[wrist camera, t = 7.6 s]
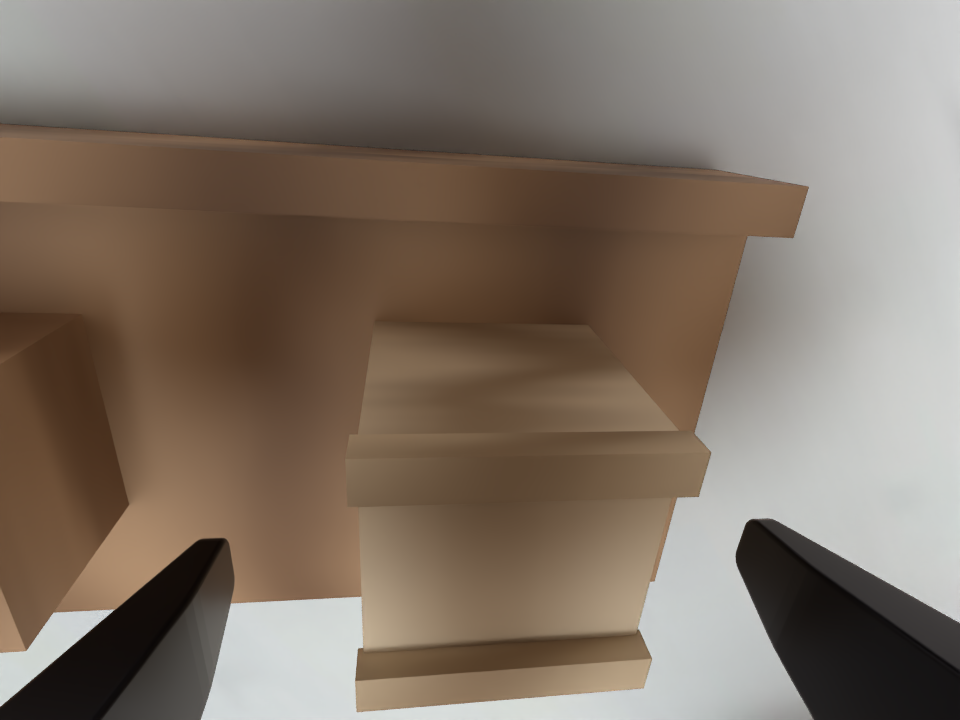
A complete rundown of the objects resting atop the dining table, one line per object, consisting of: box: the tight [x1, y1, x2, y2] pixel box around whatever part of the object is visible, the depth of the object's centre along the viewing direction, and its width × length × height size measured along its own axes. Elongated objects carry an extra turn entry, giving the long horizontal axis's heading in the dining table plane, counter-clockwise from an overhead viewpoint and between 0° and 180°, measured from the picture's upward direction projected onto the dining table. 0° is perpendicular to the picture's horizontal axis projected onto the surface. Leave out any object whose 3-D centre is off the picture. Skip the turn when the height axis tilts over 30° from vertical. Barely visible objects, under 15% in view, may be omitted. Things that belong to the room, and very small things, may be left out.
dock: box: [0, 124, 809, 612], centre depth 13 cm, size 20×12×4 cm, turn 86°
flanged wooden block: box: [345, 321, 711, 712], centre depth 11 cm, size 5×5×6 cm
